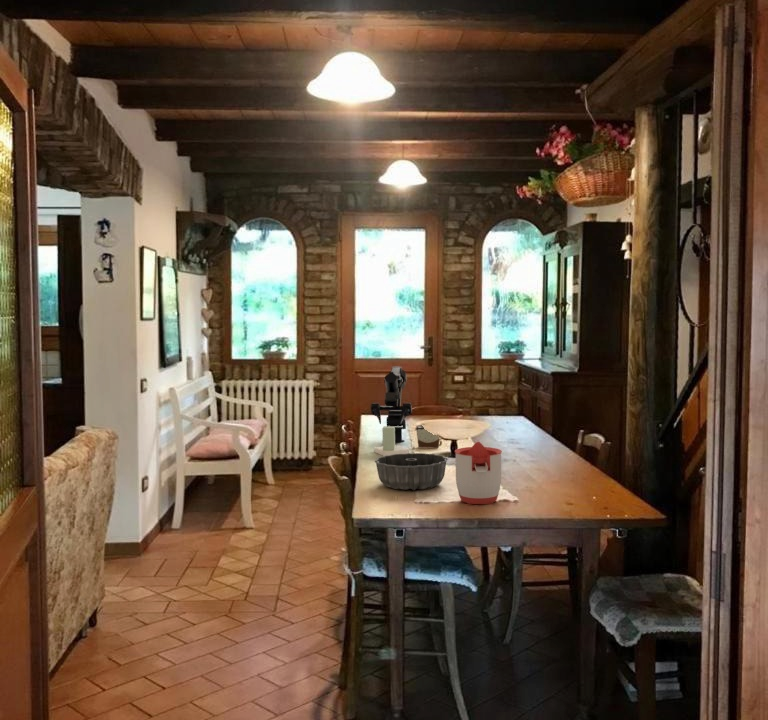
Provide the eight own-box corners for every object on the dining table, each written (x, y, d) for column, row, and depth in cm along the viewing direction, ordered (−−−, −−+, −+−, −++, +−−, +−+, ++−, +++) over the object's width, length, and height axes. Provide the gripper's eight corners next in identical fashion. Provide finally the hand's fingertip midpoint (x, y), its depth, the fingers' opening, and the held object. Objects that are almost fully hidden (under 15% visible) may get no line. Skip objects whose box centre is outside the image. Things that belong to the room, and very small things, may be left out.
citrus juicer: (458, 508, 251) (457, 447, 250) (453, 495, 269) (452, 438, 267) (506, 507, 251) (506, 446, 250) (498, 495, 269) (498, 437, 267)
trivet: (374, 451, 354) (374, 447, 354) (398, 449, 359) (398, 445, 359) (384, 456, 343) (384, 451, 343) (409, 453, 348) (409, 449, 348)
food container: (442, 445, 368) (441, 424, 368) (441, 447, 362) (441, 426, 362) (416, 445, 370) (415, 424, 369) (415, 447, 363) (414, 426, 363)
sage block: (384, 448, 351) (383, 426, 350) (395, 448, 350) (394, 426, 350) (382, 450, 346) (382, 428, 345) (394, 450, 345) (393, 428, 345)
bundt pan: (364, 482, 292) (363, 456, 292) (426, 475, 303) (426, 449, 302) (394, 497, 268) (393, 468, 268) (461, 489, 279) (460, 461, 278)
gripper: (370, 385, 360) (367, 412, 349) (411, 385, 358) (409, 412, 347) (373, 400, 368) (370, 427, 358) (412, 400, 366) (411, 427, 356)
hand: (390, 423), depth 354 cm, fingers open, 9 cm apart
